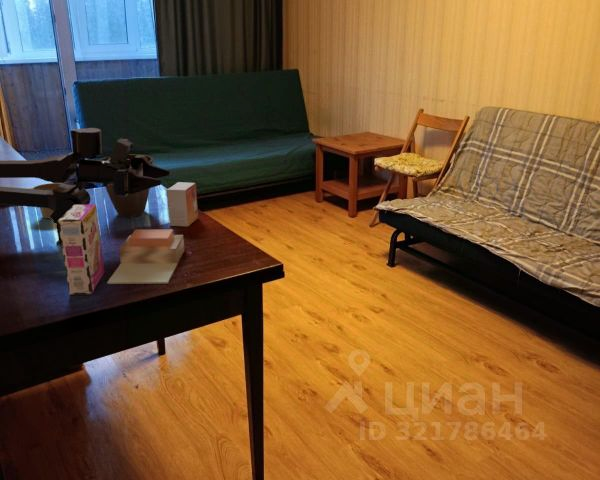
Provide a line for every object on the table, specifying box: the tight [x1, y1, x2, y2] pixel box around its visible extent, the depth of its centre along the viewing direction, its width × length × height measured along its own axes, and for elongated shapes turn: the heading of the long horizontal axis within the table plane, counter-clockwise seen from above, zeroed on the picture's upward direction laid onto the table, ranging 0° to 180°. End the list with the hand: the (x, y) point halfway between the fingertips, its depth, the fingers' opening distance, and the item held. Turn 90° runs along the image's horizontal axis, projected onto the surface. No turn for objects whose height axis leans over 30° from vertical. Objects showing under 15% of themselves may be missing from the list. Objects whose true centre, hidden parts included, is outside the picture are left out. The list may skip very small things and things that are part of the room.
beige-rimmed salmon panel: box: [128, 228, 175, 247], centre depth 132 cm, size 9×6×2 cm, turn 90°
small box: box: [166, 181, 199, 227], centre depth 156 cm, size 8×6×10 cm
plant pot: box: [99, 153, 153, 218], centre depth 163 cm, size 15×15×16 cm
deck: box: [118, 234, 185, 265], centre depth 134 cm, size 13×9×4 cm
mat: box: [106, 263, 178, 285], centre depth 125 cm, size 13×10×1 cm
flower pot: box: [31, 182, 64, 219], centre depth 162 cm, size 9×9×9 cm
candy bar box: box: [58, 203, 105, 296], centre depth 118 cm, size 11×5×16 cm, turn 5°
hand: (165, 177), depth 139 cm, fingers open, 9 cm apart
